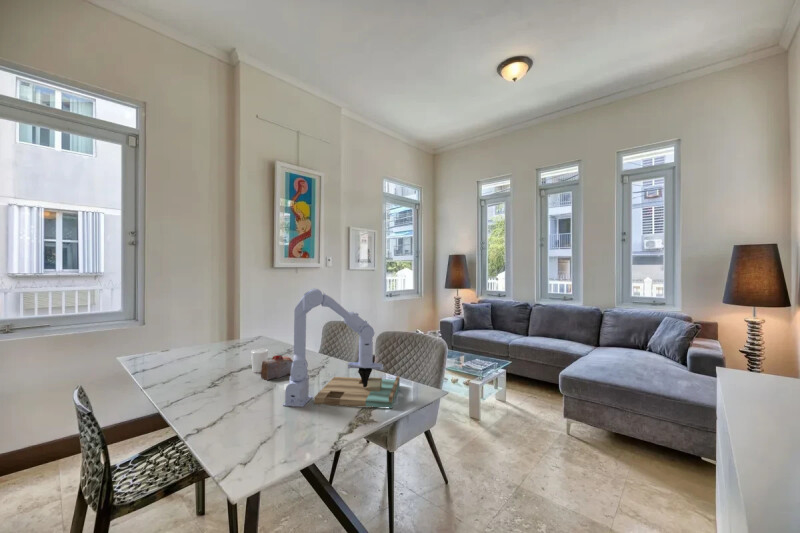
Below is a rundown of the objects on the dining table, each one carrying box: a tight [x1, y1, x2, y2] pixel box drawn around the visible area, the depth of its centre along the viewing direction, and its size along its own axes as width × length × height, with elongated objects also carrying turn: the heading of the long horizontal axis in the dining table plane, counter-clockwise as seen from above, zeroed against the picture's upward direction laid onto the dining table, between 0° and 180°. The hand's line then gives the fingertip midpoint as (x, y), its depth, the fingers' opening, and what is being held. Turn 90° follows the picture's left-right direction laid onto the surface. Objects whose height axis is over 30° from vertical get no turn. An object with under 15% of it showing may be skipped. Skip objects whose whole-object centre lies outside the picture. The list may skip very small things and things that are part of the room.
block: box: [368, 376, 383, 392], centre depth 134 cm, size 5×5×4 cm
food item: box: [260, 354, 293, 381], centre depth 156 cm, size 14×8×10 cm, turn 141°
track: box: [313, 375, 401, 409], centre depth 135 cm, size 24×30×4 cm
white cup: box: [250, 348, 269, 374], centre depth 163 cm, size 8×8×10 cm
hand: (365, 386), depth 134 cm, fingers closed
